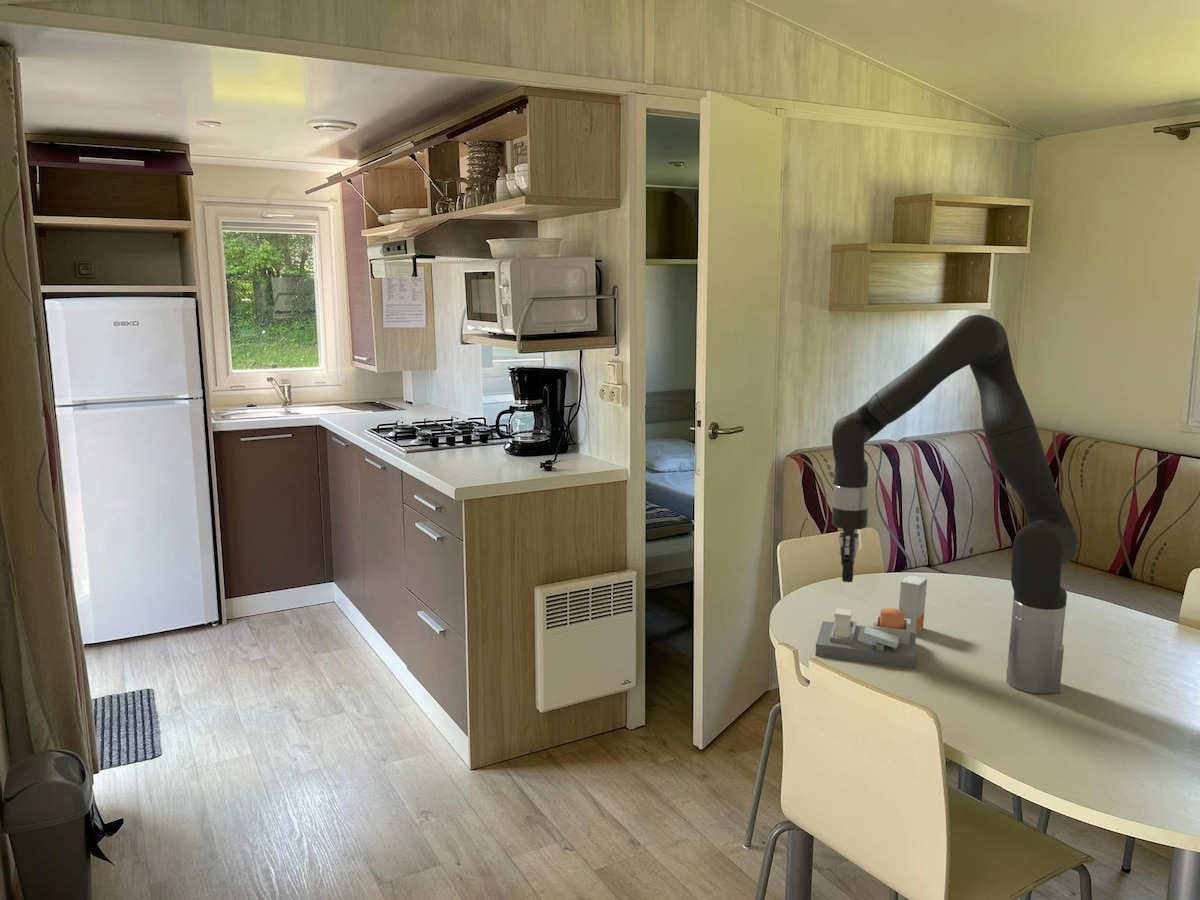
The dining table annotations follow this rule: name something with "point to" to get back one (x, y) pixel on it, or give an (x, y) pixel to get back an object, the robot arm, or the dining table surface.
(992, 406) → the robot arm
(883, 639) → the block
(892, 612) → the orange piece
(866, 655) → the panel
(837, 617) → the lever
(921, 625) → the skincare box
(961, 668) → the dining table surface
